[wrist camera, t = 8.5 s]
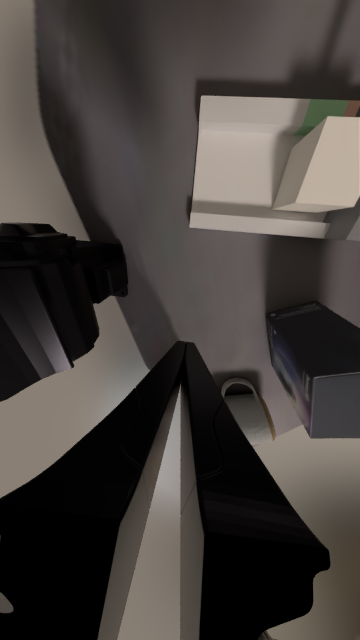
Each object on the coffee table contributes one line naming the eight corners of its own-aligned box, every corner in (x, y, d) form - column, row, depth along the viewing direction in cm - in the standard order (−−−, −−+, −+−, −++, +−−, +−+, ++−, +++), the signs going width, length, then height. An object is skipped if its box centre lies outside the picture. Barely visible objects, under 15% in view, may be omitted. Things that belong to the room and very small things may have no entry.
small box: (261, 313, 20) (311, 378, 11) (318, 298, 18) (431, 362, 9) (269, 366, 25) (309, 442, 16) (315, 359, 23) (388, 440, 14)
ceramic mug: (263, 407, 31) (280, 454, 24) (223, 410, 33) (229, 455, 26) (257, 371, 26) (276, 418, 19) (210, 378, 28) (214, 422, 22)
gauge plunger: (272, 209, 14) (295, 202, 11) (309, 92, 11) (361, 26, 7) (316, 212, 14) (354, 206, 11) (369, 94, 10) (451, 26, 7)
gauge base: (190, 227, 16) (187, 226, 13) (201, 110, 12) (201, 61, 8) (339, 240, 15) (380, 242, 12) (407, 118, 11) (501, 66, 8)
